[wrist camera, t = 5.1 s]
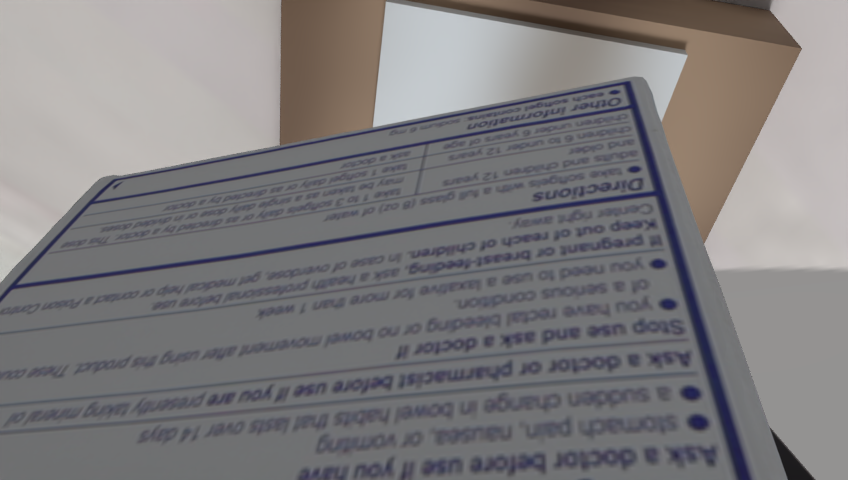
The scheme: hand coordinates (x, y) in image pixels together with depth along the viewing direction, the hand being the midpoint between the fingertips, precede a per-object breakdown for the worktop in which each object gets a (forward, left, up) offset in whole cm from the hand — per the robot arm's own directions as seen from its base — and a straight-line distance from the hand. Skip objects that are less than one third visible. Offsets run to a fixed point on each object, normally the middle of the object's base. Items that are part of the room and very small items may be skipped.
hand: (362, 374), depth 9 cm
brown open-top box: (+2, -4, -13) cm, 14 cm away
